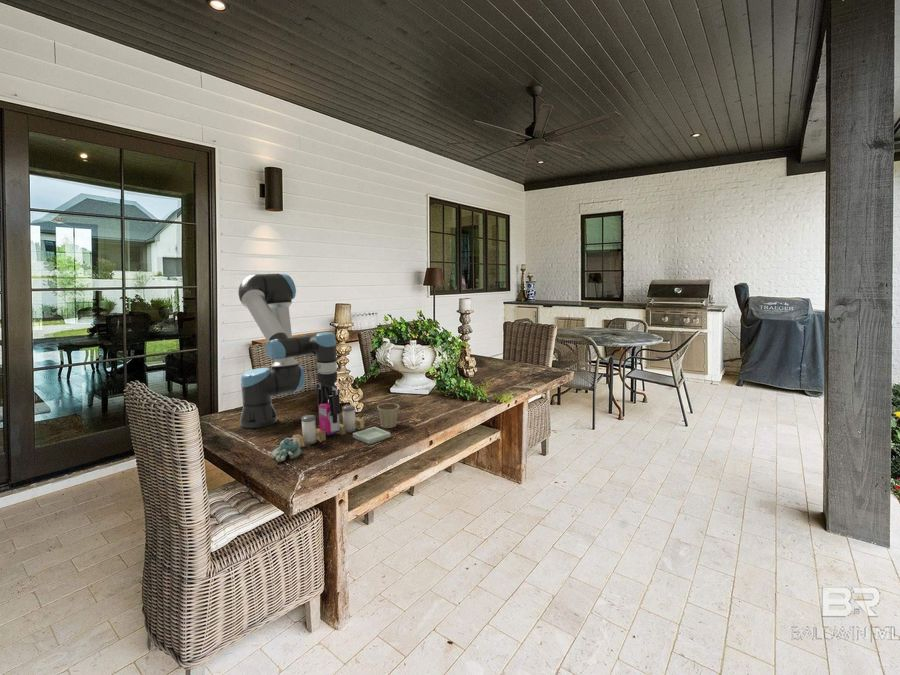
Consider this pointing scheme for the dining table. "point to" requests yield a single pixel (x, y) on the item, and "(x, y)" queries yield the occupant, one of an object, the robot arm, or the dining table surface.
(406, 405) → the dining table surface
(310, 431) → the cylinder
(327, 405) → the supplement box
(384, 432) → the tray
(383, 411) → the flower pot
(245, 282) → the robot arm
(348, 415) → the grey capped shaker
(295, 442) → the stuffed animal
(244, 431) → the dining table surface
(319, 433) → the clip rail
